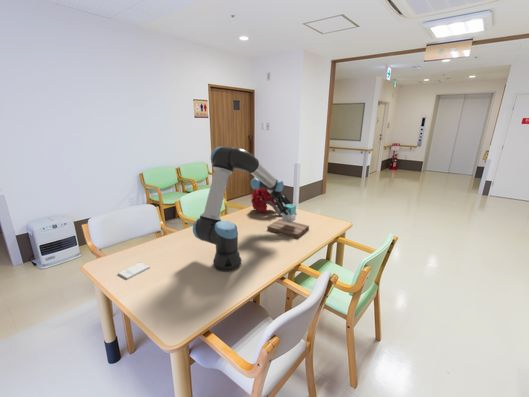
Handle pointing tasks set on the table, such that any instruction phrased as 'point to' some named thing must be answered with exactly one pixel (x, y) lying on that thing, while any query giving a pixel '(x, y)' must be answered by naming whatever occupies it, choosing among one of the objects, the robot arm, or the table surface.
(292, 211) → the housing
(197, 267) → the table surface
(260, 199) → the bouquet
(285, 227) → the walnut stand
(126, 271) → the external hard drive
